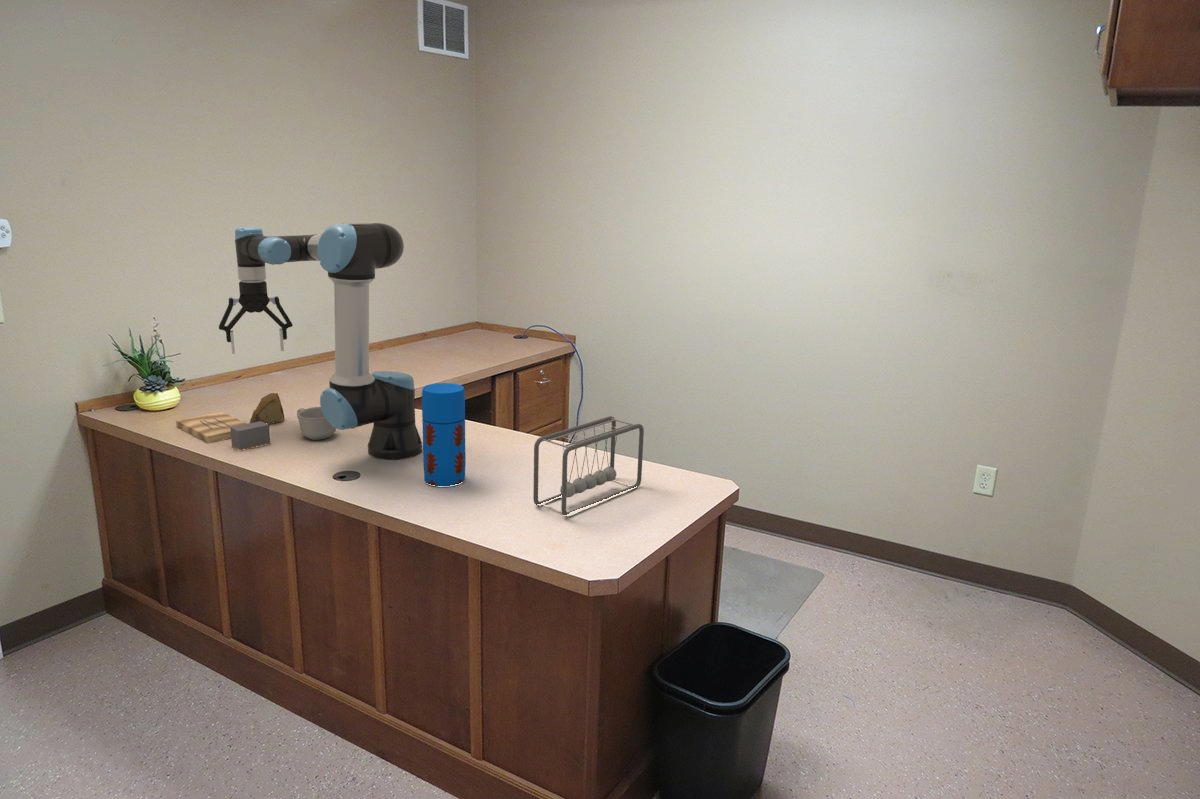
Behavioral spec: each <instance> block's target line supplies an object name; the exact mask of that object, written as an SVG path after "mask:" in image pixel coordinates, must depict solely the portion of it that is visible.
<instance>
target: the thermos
mask: <svg viewBox="0 0 1200 799" xmlns="http://www.w3.org/2000/svg"><path fill="white" fill-rule="evenodd" d="M421 389H422V390H421V391H422V392H421V415H422V416H421V418H422V419H421V420H422V421H421V422H422V424H421V425H422V454H423V455H422V456H423V458H422V460H423V461H422V462H423V475H424V482H425V481H426V483H428V484H431V485H435V486H450V485H455V484H459V483H461V482H463V481H464V480H465V481H466V464H467V463H466V461H467V460H466V397H465V396H466V394H465V387H464V386H463V385H461V384H458V383H450V382H440V383H439V382H438V383H430V384H425V385H424V386H422V388H421ZM465 481H464V482H465ZM464 482H463V483H464ZM426 483H425V484H426ZM428 484H427V485H428Z"/></svg>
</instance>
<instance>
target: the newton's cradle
mask: <svg viewBox="0 0 1200 799" xmlns="http://www.w3.org/2000/svg"><path fill="white" fill-rule="evenodd" d="M616 422H618V423H623V424H626V425H624V426H620V427H617V426H616V425H617V423H616ZM609 423H611V425H609ZM606 425H607V426H608V427H610V428H611V430H606V429H605V427H603V429H601V428H599V427H600V426H606ZM592 428H593V432H592V431H588V430H589V429H592ZM596 428H597V429H598V430H602V431H603V432H601V433H599V434H598V433H596V431H595V429H596ZM637 429H638V431H639V433H638V452H637V455H638V456H637V474H636V482H635V484H634V485H633V484H632V486H627V487H626V488H623V489H622V490H619V491H617V492H613V493H611V494H608V495H606V496H604V497H602V498H599V499H596V500H594V501H592V502H590V503H587V504H585V505H582V506H579V507H577V508H575V509H573V510H570V511H567V499H568V498H573V496H574V495H575V494H582V493H584V492H585V491H586V490H587V489H588V490H591V489H594V488H595V487H596V486H601V485H602V486H603V485H604V484H605V483H606V482H612V481H613V480H616V481H618V479H616V477H617V471H616V469H615V453H616V445H617V444H616V443H617V439H618V436H619V435H621V434H625V433H628V432H631V431H634V430H637ZM580 432H583V435H580V434H577V433H580ZM585 432H587V433H590V434H591V433H592V434H594V435H593V436H589V437H586V435H585V434H586V433H585ZM644 432H645V430H644V426H643V424H640V423H637V424H634V423H630V422H627V421H624V420H623V421H622V420H619V419H616V418H615V417H614V416H612V415H611V416H606V417H602V418H600V419H595V420H592V421H589V422H586V423H582V424H579V425H576V426H573V427H569V428H566V429H563V430H560V431H556V432H553V433H549V434H546V435H543V436H540V437H538V438H537V439H536V441H535V443H534V446H533V503H534V504H536V505H535V506H537V504H541V503H543V502H546V501H549V500H551V499H554V498H556V497H559V496H561V495H562V498H561V504H560V507H561V511H562V513H561V514H562V516H563V515H567V514H569V513H570V512H572V511H575V510H577V509H580V508H583V507H586V506H588V505H591V504H594V503H596V502H599V501H602V500H603V499H607V498H609V497H611V496H613V495H616V494H619V493H620V492H623V491H626V490H628V489H631V488H634V487H636V486H639V487H640V485H641V482H642V477H643V476H642V475H643V474H642V472H643V458H644V456H643V455H644V453H643V452H644ZM570 435H573V438H575V435H576V436H580V437H583V439H580V440H575V439H571V438H568V437H566V436H570ZM561 438H563V439H564V438H565V439H568V440H572V441H573V442H570V443H568V444H565V443H564V440H562V443H558V442H556V441H554V440H557V439H561ZM608 439H610V460H609V456H608V454H606V453H608V448H607V444H608ZM601 441H605V447H604V453H603V457H602V461H601V468H600V466H599V465H600V464H597V469H598V470H596V471H594V472H593V468H594V462H595V457H596V462H597V463H599V459H598V457H599V456H598V455H596V454H598V449H597V448H598V443H599V442H601ZM542 442H547V443H550V444H554V445H557V446H560V447H563V448H564V450H563V453H562V467H561V468H562V469H561V486H560V488H559V491H560V493H559V494H556V495H553V496H551V497H549V498H546V499H543V500H540V501H539V467H540V466H539V462H540V461H539V460H540V458H539V454H540V452H539V451H540V444H541V443H542ZM592 444H595V450H594V456H593V462H592V466H591V470H590V469H589V468H590V467H587V472H588V473H587V474H586V475H584V476H583V469H584V464H585V460H586V462H587V463H586V464H587V465H586V466H589V460H588V459H586V457H588V453H587V452H588V451H587V448H588V446H589V445H592ZM582 447H584V448H585V453H584V458H583V461H582V462H583V463H582V468H581V474H580V473H577V477H576V478H575V479H574V480H573V481H572V482H571V478H572V474H573V467H574V463H575V461H576V463H578V460H577V459H578V458H577V456H576V455H577V449H579V448H582ZM571 451H574V456H573V461H572V467H571V471H570V476H569V480H568V456H569V453H570V452H571ZM605 454H606V458H607V460H606V461H607V462H609V463H607V467H605V468H604V469H603V470H602V468H603V465H604V458H605ZM575 459H576V460H575ZM578 466H579V465H576V468H577V469H576V470H577V472H579V468H578ZM592 472H593V473H592ZM579 474H580V476H579ZM582 476H583V478H582ZM616 481H615V482H616ZM613 482H614V481H613ZM575 492H576V493H575Z"/></svg>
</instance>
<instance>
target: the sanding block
mask: <svg viewBox="0 0 1200 799" xmlns="http://www.w3.org/2000/svg"><path fill="white" fill-rule="evenodd" d="M230 431H231V438H230V439H231V440H230V441H231V448H233V447H234V449H235V448H236V449H235V450H237V449H239V450H242V451H244V450H243V449H247V448H251V449H253V448H252V447H256V446H260V447H262V446H261V445H265V444H269V445H271V434H270V433H271V432H270V424H266V423H264V422H262V421H259V422H254V423H250V422H249V423H247V424H244V425H239V426H234V427H230ZM265 446H266V445H265ZM256 448H257V447H256ZM239 450H238V451H239ZM247 450H248V449H247Z"/></svg>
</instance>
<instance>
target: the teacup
mask: <svg viewBox="0 0 1200 799" xmlns="http://www.w3.org/2000/svg"><path fill="white" fill-rule="evenodd" d="M296 415H297V419H298V424H299V430H300V433H301V435H302V436H304V437H306V438H307V439H309V440H312V441H319V440H321V441H322V440H325V439H328V438H330V437H332V435H333V434H334V433H335V432H336V430H337V428H335V427H333V426H332V425H331V424H330V423H329V422H328V421H327V419H326V418H325V416H324V414H323V412H322V409H321V406H314V407H309V408H308V407H307V408H299V409H298V410H297V413H296Z"/></svg>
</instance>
